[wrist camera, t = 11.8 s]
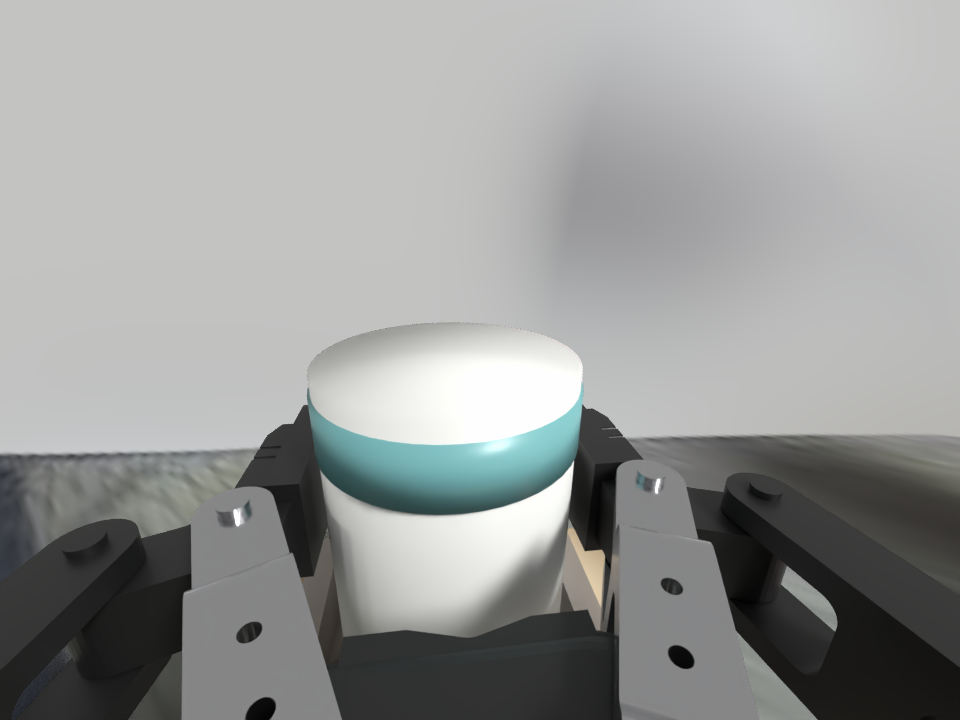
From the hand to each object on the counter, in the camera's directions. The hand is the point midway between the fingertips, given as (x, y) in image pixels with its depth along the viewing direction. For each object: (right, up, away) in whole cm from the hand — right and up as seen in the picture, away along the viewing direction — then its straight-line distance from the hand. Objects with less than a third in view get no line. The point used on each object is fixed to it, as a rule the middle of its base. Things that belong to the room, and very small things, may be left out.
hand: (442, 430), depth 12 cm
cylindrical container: (0, -8, 0) cm, 8 cm away
